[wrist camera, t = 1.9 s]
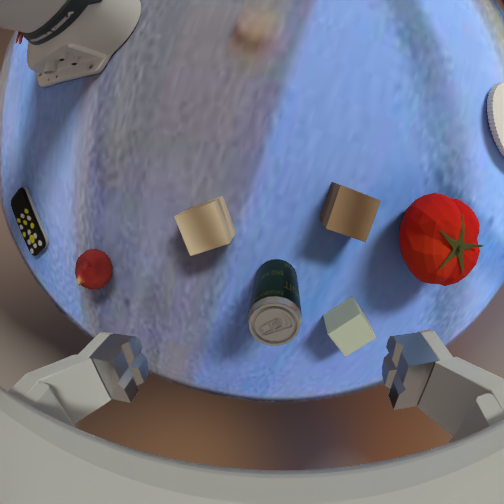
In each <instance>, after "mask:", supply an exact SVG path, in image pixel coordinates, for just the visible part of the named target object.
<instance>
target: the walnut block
mask: <svg viewBox="0 0 504 504" xmlns="http://www.w3.org/2000/svg"><path fill="white" fill-rule="evenodd" d="M379 204H380V201H379V200H377V199H375V198H373V197H370V196H368V195H365V194H363V193H360V192H358V191H355V190H352V189H350V188H347V187H344V186H342V185H339V184H336V183H333V182H332V184H331V187H330V190H329V193H328V196H327V199H326V202H325V205H324V208H323V211H322V214H321V217H320V221H321V222H322V224H323V225H324V227H325V228H326V229H328V230H331V231H334V232H337V233H340V234H343V235H346V236H349V237H352V238H355V239H358V240H361V241H363V242H366V240H367V237H368V235H369V232H370V229H371V227H372V224H373V221H374V218H375V216H376V213H377V210H378V207H379Z"/></svg>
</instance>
